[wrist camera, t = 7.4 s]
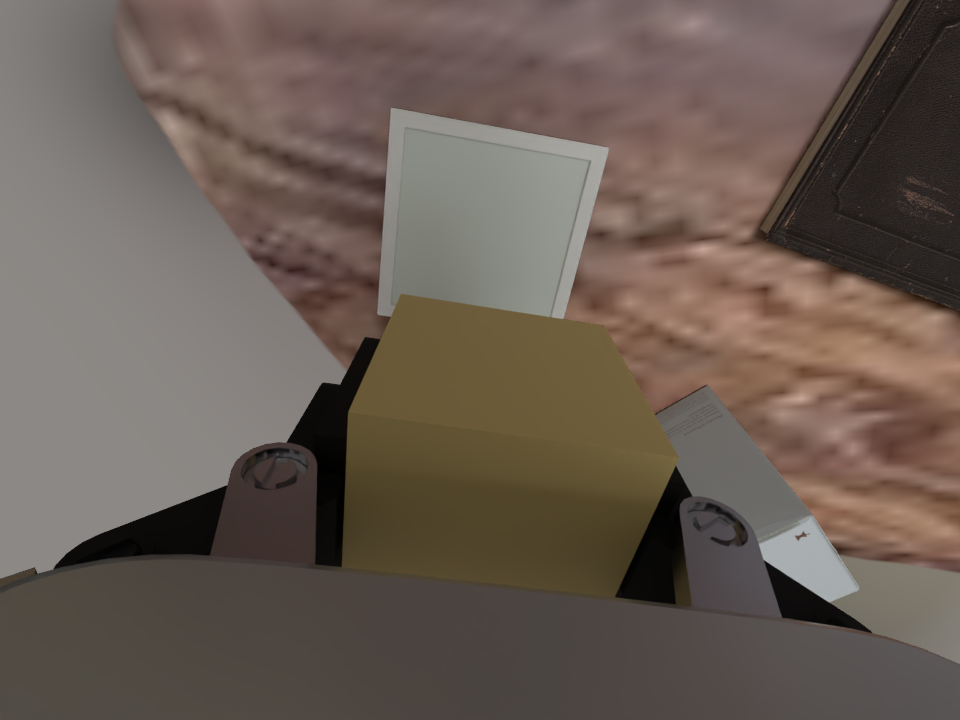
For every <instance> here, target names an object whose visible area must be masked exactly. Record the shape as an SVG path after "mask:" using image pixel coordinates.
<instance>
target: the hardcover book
mask: <svg viewBox="0 0 960 720" xmlns="http://www.w3.org/2000/svg"><path fill="white" fill-rule="evenodd" d="M760 229H761V230H763V231H764V232H765V233H768V234H767V235H766V237H765V238H764V239H765V240H767V241H770V242H772V243H775V244H778V245H781V246H783V247H786V248H789V249H792V250H794V251H797V252H800V253H803V254H805V255H808V256H811V257H813V258H816V259H819V260H822V261H824V262H827V263H830V264H833V265H835V266H838V267H841V268H844V269H846V270H849V271H852V272H855V273H857V274H860V275H863V276H865V277H868V278H871V279H874V280H876V281H879V282H882V283H885V284H887V285H890V286H893V287H896V288H898V289H901V290H904V291H907V292H909V293H912V294H915V295H917V296H920V297H923V298H926V299H928V300H931V301H934V302H937V303H939V304H942V305H945V306H948V307H950V308H953V309H956V310H958V311H960V0H897V2H896V3H895V5H894V7H893V8H892V10H891V12H890V13H889V15H888V16H887V18H886V20H885V21H884V23H883V25H882V26H881V28H880V30H879V31H878V33H877V35H876V36H875V38H874V40H873V41H872V43H871V45H870V46H869V48H868V50H867V51H866V53H865V55H864V56H863V58H862V60H861V61H860V63H859V65H858V66H857V68H856V70H855V71H854V73H853V75H852V76H851V78H850V80H849V81H848V83H847V85H846V86H845V88H844V90H843V91H842V93H841V95H840V96H839V98H838V100H837V101H836V103H835V105H834V106H833V108H832V110H831V111H830V113H829V115H828V116H827V118H826V120H825V121H824V123H823V125H822V126H821V128H820V130H819V131H818V133H817V134H816V136H815V138H814V139H813V141H812V143H811V144H810V146H809V148H808V149H807V151H806V153H805V154H804V156H803V158H802V159H801V161H800V163H799V164H798V166H797V168H796V169H795V171H794V173H793V174H792V176H791V178H790V179H789V181H788V183H787V184H786V186H785V188H784V189H783V191H782V193H781V194H780V196H779V198H778V199H777V201H776V203H775V204H774V206H773V208H772V209H771V211H770V213H769V214H768V216H767V218H766V219H765V221H764V223H763V224H762V226H761V228H760Z"/></svg>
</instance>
